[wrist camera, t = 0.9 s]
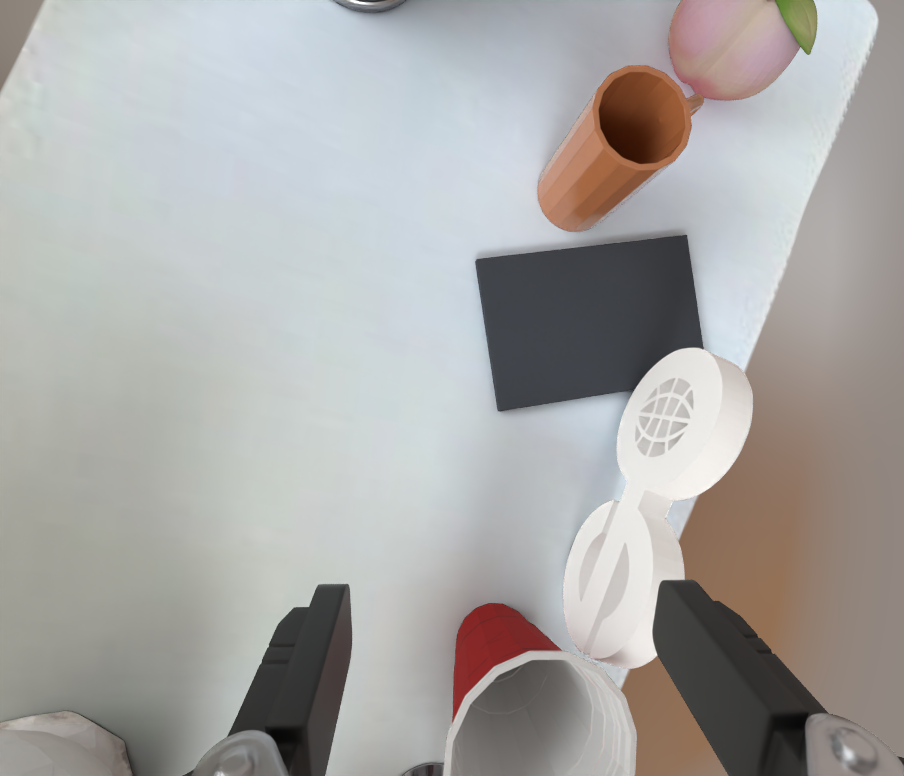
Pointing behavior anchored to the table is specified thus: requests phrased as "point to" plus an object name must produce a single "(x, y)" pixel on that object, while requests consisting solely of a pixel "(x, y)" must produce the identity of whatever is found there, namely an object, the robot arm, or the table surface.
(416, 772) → the wine glass
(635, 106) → the brown mug
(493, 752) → the plastic cup
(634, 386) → the mat
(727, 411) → the white twin disc part
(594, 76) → the table surface
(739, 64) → the decorative fruit
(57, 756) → the ceramic pitcher
